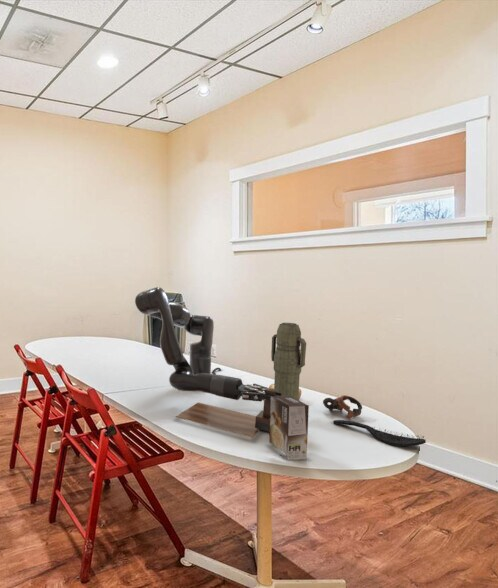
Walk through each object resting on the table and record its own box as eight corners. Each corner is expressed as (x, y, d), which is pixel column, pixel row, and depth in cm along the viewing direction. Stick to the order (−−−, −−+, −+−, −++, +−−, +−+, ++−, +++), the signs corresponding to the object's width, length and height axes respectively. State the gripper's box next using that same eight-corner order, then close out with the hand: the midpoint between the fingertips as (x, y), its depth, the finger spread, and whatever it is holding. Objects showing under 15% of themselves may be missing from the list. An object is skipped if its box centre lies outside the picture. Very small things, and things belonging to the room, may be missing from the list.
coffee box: (308, 459, 115) (310, 405, 114) (287, 460, 115) (289, 406, 114) (287, 445, 124) (289, 395, 123) (267, 446, 124) (269, 395, 123)
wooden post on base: (260, 421, 138) (263, 385, 137) (280, 426, 134) (283, 389, 133) (254, 427, 133) (257, 389, 131) (274, 433, 129) (278, 394, 127)
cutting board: (197, 406, 159) (197, 402, 159) (269, 423, 142) (269, 419, 142) (175, 420, 144) (175, 416, 144) (252, 441, 127) (252, 437, 127)
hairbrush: (339, 412, 144) (430, 434, 123) (339, 422, 145) (430, 446, 123) (327, 417, 140) (419, 440, 119) (327, 427, 140) (419, 453, 119)
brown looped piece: (348, 411, 155) (360, 397, 150) (356, 430, 147) (368, 415, 142) (315, 401, 157) (326, 387, 152) (321, 419, 149) (333, 405, 145)
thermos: (296, 425, 140) (301, 326, 138) (263, 415, 150) (266, 322, 147) (308, 419, 145) (312, 324, 143) (275, 410, 155) (278, 320, 152)
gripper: (219, 380, 136) (275, 391, 125) (232, 372, 147) (285, 381, 135) (218, 402, 137) (274, 414, 125) (232, 392, 147) (284, 403, 136)
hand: (279, 397), depth 130 cm, fingers closed on wooden post on base, 3 cm apart
